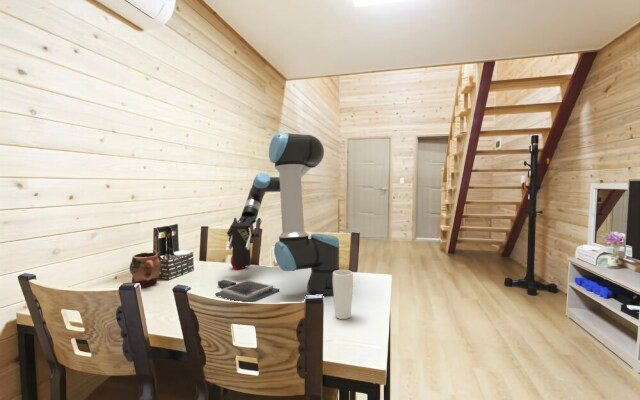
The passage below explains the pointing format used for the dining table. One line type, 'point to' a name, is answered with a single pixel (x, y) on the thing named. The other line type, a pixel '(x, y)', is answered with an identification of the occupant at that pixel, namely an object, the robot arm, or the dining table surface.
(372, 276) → the dining table surface
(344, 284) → the drinking glass
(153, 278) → the decorative planter
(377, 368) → the dining table surface
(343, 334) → the dining table surface
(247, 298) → the base
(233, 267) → the fruit
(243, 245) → the container
